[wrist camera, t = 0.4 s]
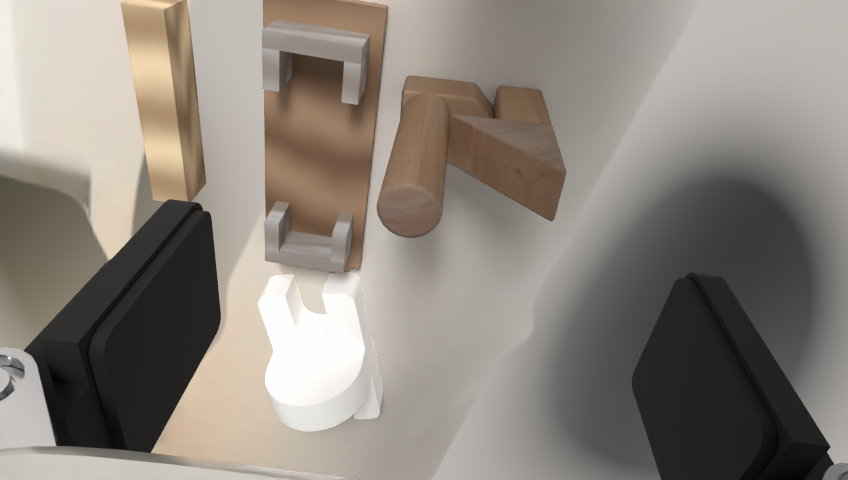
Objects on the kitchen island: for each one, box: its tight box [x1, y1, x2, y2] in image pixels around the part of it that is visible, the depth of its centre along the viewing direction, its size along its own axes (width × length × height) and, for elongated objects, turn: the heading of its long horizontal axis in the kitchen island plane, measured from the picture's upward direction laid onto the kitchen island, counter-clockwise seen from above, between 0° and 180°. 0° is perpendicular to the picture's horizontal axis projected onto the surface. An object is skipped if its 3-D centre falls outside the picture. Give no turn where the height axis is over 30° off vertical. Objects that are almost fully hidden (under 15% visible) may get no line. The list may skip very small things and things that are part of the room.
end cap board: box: [262, 0, 388, 273], centre depth 46 cm, size 24×9×4 cm, turn 172°
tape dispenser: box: [258, 272, 384, 432], centre depth 57 cm, size 10×18×11 cm, turn 6°
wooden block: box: [377, 76, 566, 238], centre depth 38 cm, size 4×11×18 cm, turn 85°
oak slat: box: [121, 0, 206, 202], centre depth 46 cm, size 16×3×4 cm, turn 173°
